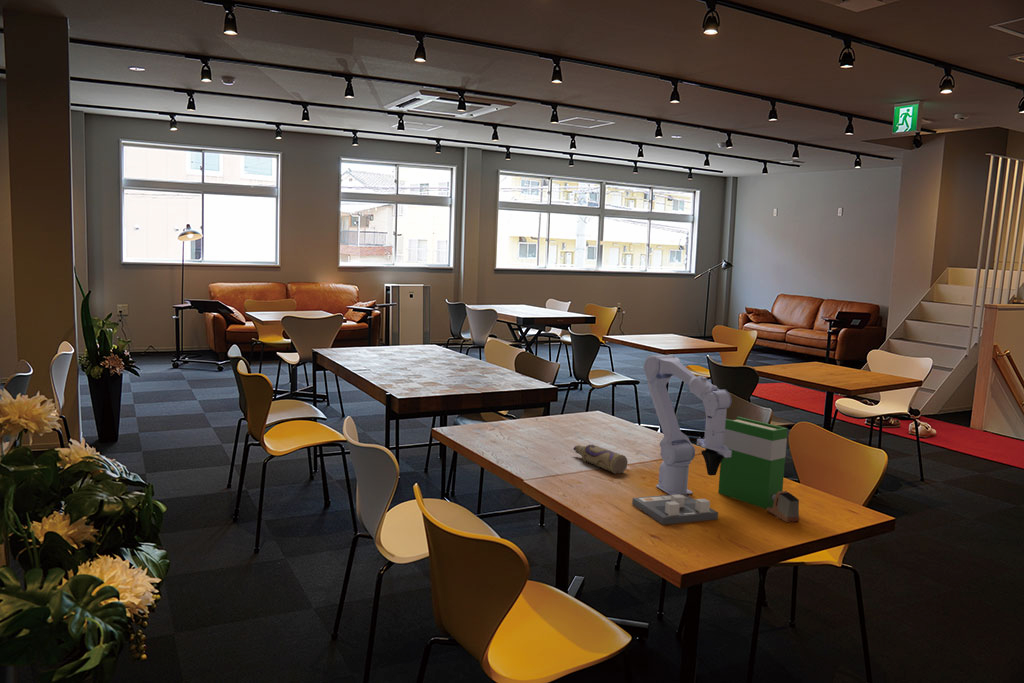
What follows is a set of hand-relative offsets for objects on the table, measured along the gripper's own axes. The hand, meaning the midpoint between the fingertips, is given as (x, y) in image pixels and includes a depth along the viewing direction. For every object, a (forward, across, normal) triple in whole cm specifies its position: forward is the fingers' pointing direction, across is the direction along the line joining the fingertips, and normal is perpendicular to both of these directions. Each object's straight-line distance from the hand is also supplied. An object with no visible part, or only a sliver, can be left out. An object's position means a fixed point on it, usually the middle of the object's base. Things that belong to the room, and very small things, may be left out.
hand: (711, 474), depth 218 cm
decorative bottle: (+10, -46, -13) cm, 49 cm away
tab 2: (+7, +9, -9) cm, 15 cm away
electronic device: (+10, +14, +15) cm, 23 cm away
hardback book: (+10, -2, +16) cm, 19 cm away
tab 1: (+7, +9, -19) cm, 22 cm away
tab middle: (+7, +4, -14) cm, 16 cm away
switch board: (+9, +2, -14) cm, 17 cm away
